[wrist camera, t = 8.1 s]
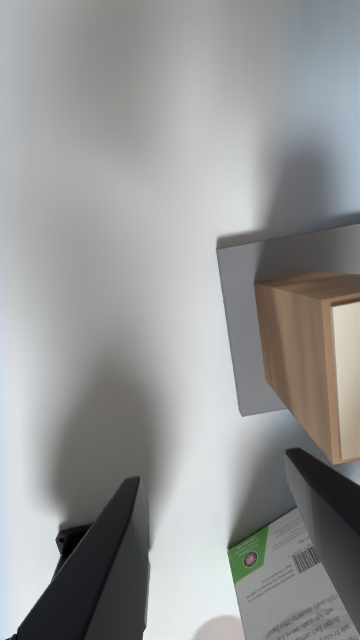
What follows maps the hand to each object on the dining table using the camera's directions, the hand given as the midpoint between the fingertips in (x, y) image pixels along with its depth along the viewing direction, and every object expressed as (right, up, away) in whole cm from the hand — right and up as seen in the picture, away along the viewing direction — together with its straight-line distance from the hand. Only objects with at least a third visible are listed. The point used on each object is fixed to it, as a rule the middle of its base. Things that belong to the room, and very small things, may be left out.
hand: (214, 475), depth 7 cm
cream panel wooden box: (+6, +4, +11) cm, 13 cm away
